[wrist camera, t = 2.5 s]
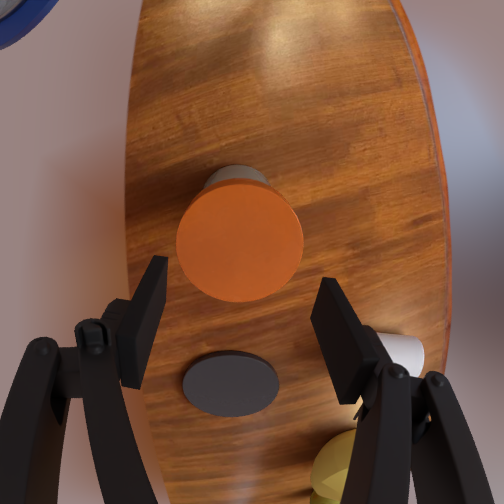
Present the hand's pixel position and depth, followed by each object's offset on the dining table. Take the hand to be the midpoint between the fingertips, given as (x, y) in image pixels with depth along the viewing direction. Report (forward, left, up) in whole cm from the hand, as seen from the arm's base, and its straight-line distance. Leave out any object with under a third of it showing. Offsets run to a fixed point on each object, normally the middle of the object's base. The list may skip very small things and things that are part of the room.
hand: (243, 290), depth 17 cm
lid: (0, 0, -6) cm, 6 cm away
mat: (+3, -27, -18) cm, 32 cm away
